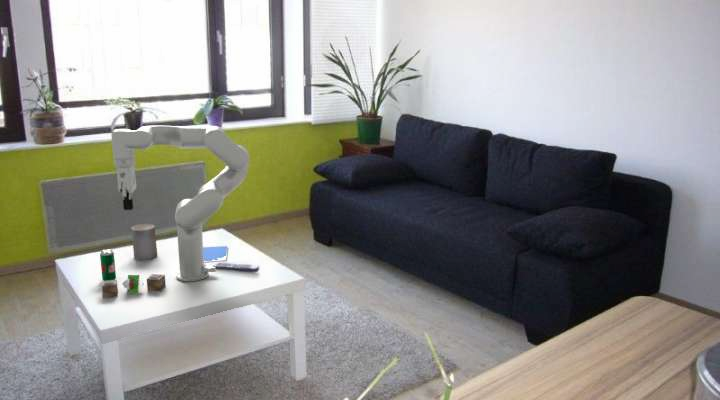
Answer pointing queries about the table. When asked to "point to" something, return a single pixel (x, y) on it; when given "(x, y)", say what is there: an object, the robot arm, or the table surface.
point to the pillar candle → (144, 241)
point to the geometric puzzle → (132, 284)
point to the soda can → (107, 265)
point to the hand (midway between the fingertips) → (128, 209)
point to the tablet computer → (214, 252)
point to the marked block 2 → (156, 283)
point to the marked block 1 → (109, 288)
